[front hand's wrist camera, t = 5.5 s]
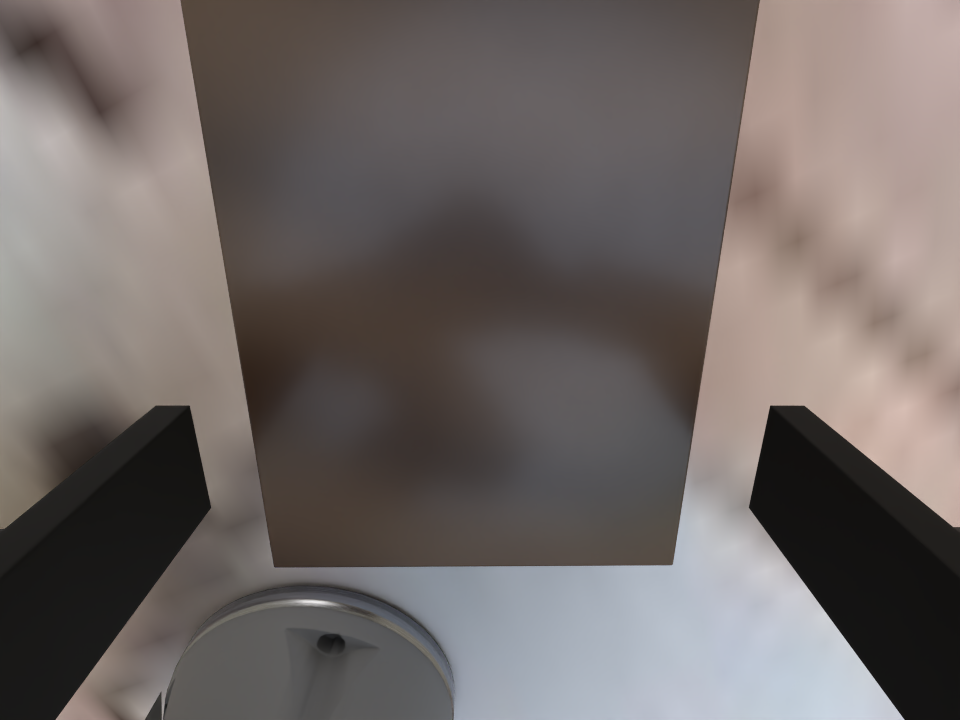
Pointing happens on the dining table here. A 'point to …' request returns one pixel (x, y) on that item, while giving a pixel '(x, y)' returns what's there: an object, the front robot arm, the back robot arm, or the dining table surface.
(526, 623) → the dining table surface
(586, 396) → the brown-grey rectangular block
